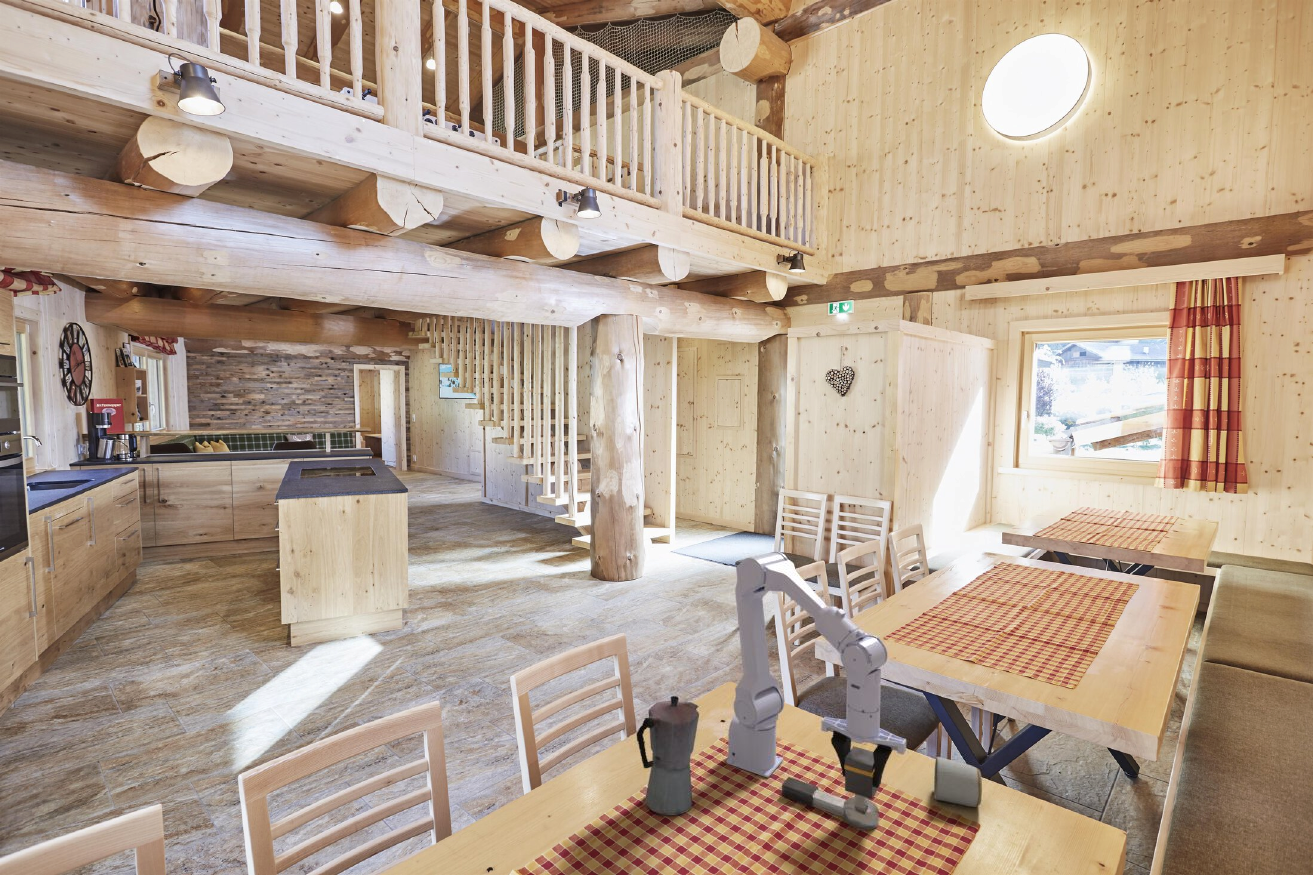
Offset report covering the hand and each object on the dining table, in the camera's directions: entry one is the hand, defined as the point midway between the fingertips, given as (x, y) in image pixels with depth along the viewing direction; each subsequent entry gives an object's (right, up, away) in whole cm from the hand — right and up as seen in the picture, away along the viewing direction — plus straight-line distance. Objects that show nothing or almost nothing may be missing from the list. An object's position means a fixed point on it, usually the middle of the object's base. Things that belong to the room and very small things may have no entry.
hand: (861, 779), depth 114 cm
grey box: (0, -2, 0) cm, 2 cm away
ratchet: (-5, -7, +4) cm, 9 cm away
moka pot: (-35, -7, +5) cm, 36 cm away
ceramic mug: (+20, -7, +7) cm, 23 cm away
